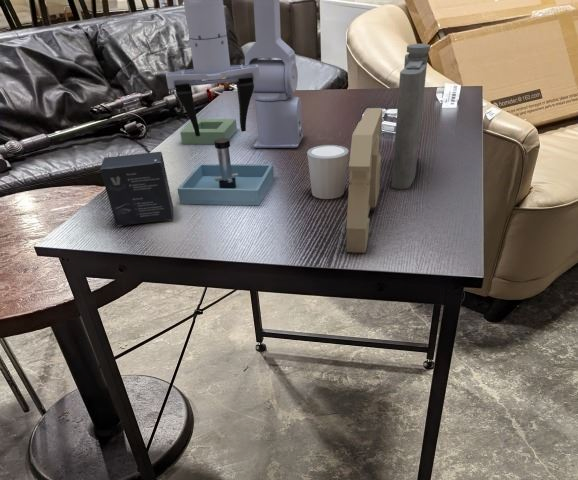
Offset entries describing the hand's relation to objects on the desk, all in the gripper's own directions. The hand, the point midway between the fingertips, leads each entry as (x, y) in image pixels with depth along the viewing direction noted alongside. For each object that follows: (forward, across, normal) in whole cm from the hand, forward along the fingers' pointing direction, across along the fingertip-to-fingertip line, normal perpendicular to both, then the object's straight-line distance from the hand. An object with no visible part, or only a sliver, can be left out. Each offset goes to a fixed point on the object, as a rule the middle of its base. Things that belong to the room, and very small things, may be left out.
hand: (220, 132), depth 88 cm
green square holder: (+10, -2, +33) cm, 35 cm away
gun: (+10, +20, -18) cm, 29 cm away
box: (+10, -14, -8) cm, 19 cm away
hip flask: (+10, +33, -2) cm, 34 cm away
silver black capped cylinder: (+9, 0, 0) cm, 9 cm away
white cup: (+10, +17, -7) cm, 21 cm away
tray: (+10, 0, 0) cm, 10 cm away
